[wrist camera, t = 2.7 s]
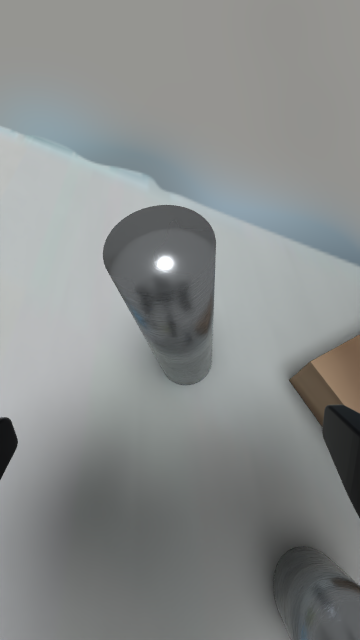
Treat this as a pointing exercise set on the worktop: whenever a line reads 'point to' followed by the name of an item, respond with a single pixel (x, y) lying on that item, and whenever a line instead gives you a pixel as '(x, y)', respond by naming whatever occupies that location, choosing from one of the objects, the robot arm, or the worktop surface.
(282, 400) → the worktop surface
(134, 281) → the long pin
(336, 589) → the short pin
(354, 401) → the plate
